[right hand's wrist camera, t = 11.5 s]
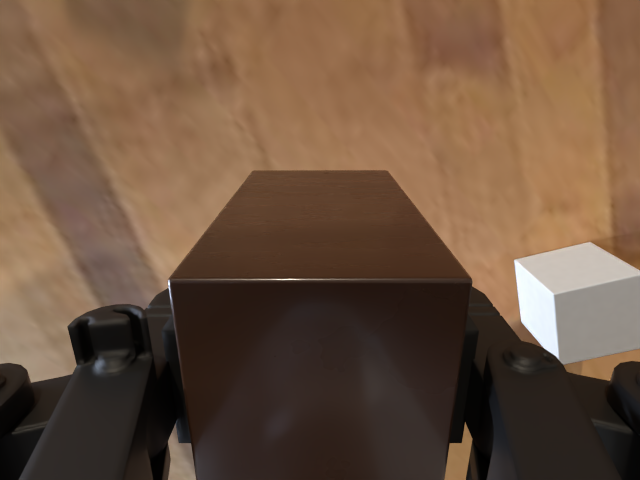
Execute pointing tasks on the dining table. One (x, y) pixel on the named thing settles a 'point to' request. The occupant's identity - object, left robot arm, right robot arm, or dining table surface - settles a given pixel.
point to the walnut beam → (320, 332)
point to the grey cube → (580, 302)
